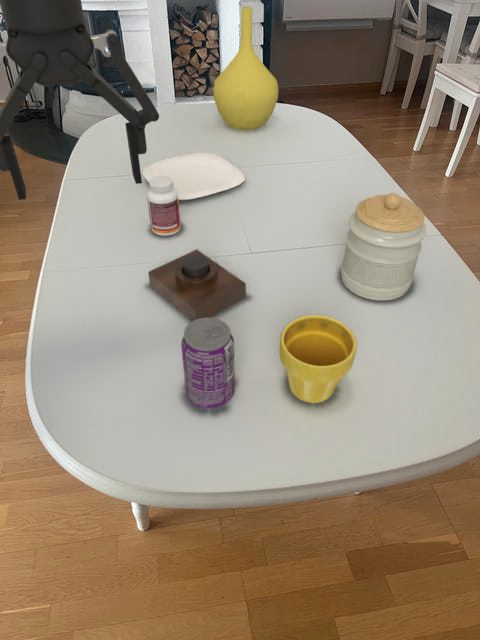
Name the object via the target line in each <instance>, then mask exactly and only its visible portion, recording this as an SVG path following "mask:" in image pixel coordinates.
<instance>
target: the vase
mask: <svg viewBox="0 0 480 640" xmlns="http://www.w3.org/2000/svg"><path fill="white" fill-rule="evenodd" d="M240 18H241V19H240V21H241V23H240V45H239V49H238V51H237V53H236V54H235V56H234V57H233V58H232V60H230V62H229V64H227V66H226V67H225V68H224V69H223V71H222V72H220V74H219V75H218V76H217V77H216V78H215V80H214V83H213V99H214V103H215V106H216V108H217V112H218V114H219V116H220V117H221V118H222V120H223V122H225V124H227V125H228V126H229V127H230V128H232V129H235V130H239V131H253V130H258V129H260V128H261V127H262V126H264V125H265V124H266V123H267V122H268V121H269V119H270V118H271V116H272V115H273V114H274V111H275V108H276V105H277V102H278V99H279V84H278V80H277V79H276V77H275V76H274V75H273V74H272V72H270V70H269V69H268V68H267V67H266V65H264V63H263V62H262V60H261V59H260V58H259V56H258V55H257V54H256V52H255V50H254V46H253V7H251V6H242V7H241V17H240Z"/></svg>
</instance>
